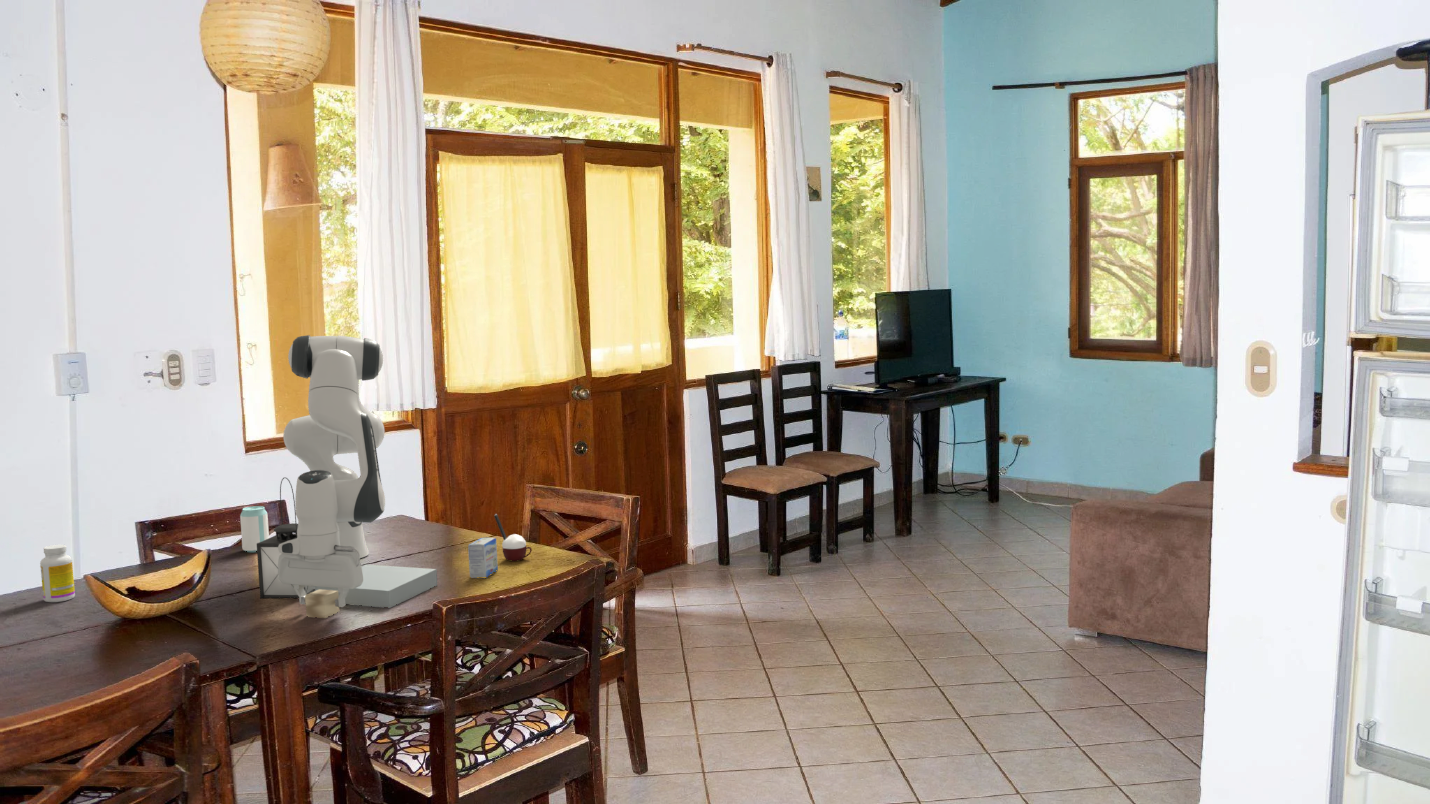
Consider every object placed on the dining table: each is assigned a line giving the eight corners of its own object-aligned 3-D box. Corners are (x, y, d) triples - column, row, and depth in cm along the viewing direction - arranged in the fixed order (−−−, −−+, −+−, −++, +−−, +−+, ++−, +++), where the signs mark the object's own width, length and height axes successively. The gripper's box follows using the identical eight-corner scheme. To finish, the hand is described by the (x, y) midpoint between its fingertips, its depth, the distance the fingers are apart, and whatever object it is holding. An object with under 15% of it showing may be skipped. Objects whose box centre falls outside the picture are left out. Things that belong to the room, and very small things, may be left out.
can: (237, 550, 323) (235, 508, 321) (261, 546, 328) (259, 504, 327) (250, 554, 318) (247, 511, 317) (274, 549, 323) (271, 507, 322)
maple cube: (306, 617, 257) (305, 595, 256) (320, 610, 262) (319, 589, 261) (325, 618, 255) (324, 596, 255) (339, 612, 260) (338, 590, 259)
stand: (315, 602, 268) (314, 585, 268) (367, 580, 287) (366, 564, 287) (389, 608, 262) (388, 590, 262) (437, 585, 281) (436, 569, 281)
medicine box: (486, 579, 286) (484, 544, 285) (469, 578, 287) (467, 544, 286) (498, 570, 294) (496, 537, 293) (481, 570, 295) (480, 537, 294)
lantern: (282, 586, 284) (274, 473, 281) (326, 586, 282) (318, 473, 279) (259, 599, 273) (251, 482, 270) (304, 599, 271) (296, 481, 268)
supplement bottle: (81, 596, 278) (77, 544, 277) (58, 604, 272) (53, 550, 270) (60, 594, 280) (56, 542, 279) (36, 602, 274) (32, 549, 273)
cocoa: (534, 560, 306) (535, 515, 305) (520, 564, 301) (520, 519, 300) (505, 555, 311) (506, 511, 309) (491, 559, 305) (491, 514, 304)
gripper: (367, 543, 256) (370, 604, 258) (290, 538, 263) (294, 598, 264) (349, 550, 250) (353, 612, 252) (271, 545, 257) (275, 605, 258)
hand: (322, 605), depth 258 cm, fingers open, 8 cm apart
